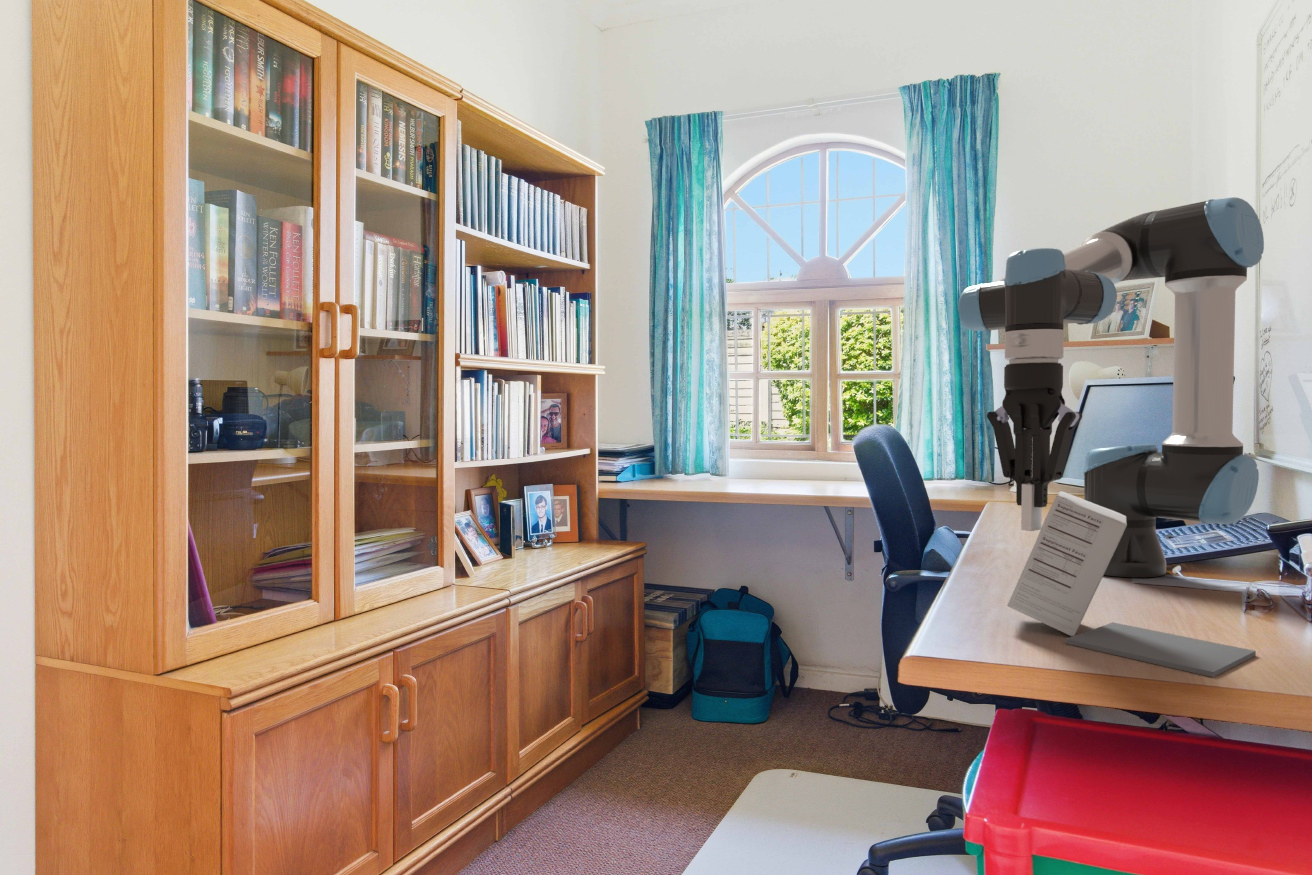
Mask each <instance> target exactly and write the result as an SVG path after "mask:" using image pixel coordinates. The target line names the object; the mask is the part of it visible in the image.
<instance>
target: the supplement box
mask: <svg viewBox="0 0 1312 875" xmlns="http://www.w3.org/2000/svg"><path fill="white" fill-rule="evenodd" d="M1049 508H1050V509H1049V510H1048V512H1047V515H1046V517H1045V519H1044V521H1043V522H1042V523H1043V524H1042V528H1041V530H1039V534H1038V536H1037V538H1036V540H1035V543H1034V545H1033V546H1032V548H1031V551H1030V553H1029V556H1028V558H1027V560H1026V561H1025V564H1024V566H1023V568H1022V570H1021V573H1020V574H1019V577H1018V579H1017V581H1016V583H1015V586H1014V587H1013V590H1012V593H1011V595H1010V597H1009V599H1008V602H1007V604H1006V606H1007V608H1010V609H1012V610H1014V611H1017V612H1019V613H1021V614H1023V615H1025V616H1027V617H1030V618H1031V619H1033V620H1036V621H1038V622H1041V623H1042V624H1044V625H1047V626H1049V627H1051V628H1053V629H1055V630H1057V631H1059V632H1062V633H1064V634H1066V635H1068V636H1069V637H1073V636H1076V635H1077V634H1076V633H1077V632H1078V629H1079V628H1080V626H1081V623H1082V621H1083V619H1084V617H1085V615H1086V612H1087V610H1088V609H1089V606H1090V604H1091V602H1092V600H1093V598H1094V596H1095V594H1096V592H1097V590H1098V588H1099V586H1100V583H1101V582H1102V579H1103V578H1104V576H1105V575H1104V573H1105V571H1106V569H1107V567H1108V565H1109V562H1110V560H1111V558H1112V556H1113V554H1114V552H1115V550H1116V548H1117V546H1118V543H1119V541H1120V539H1121V537H1122V535H1123V533H1124V530H1125V528H1126V526H1127V522H1126V516H1125V515H1122V514H1120V513H1118V512H1115V511H1113V510H1110V509H1107V508H1105V507H1102V506H1099V505H1097V504H1094V503H1092V502H1089V501H1086V500H1084V498H1081V497H1078V496H1076V495H1074V494H1070V493H1068V492H1065V491H1062V490H1060V491H1059V492H1058V494H1057V496H1055V498H1054V499H1053V502H1052V504H1051V506H1050V507H1049Z"/></svg>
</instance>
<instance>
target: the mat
mask: <svg viewBox="0 0 1312 875" xmlns="http://www.w3.org/2000/svg"><path fill="white" fill-rule="evenodd" d="M1065 644H1067V645H1070V646H1075V647H1079V648H1083V649H1088V650H1092V651H1097V652H1102V653H1105V654H1110V655H1115V656H1119V657H1122V658H1128V659H1132V660H1137V661H1140V662H1145V663H1148V664H1149V663H1150V664H1154V665H1158V666H1163V667H1165V668H1172V669H1176V670H1180V671H1185V672H1189V673H1193V674H1198V675H1201V676H1205V677H1210V678H1215V677H1217V676H1219V675H1221V674H1223V673H1225V672H1226V671H1228V670H1230V669H1232V668H1235V667H1237V666H1239V665H1240V664H1242V663H1244V662H1246V661H1248V660H1250V659H1252V658H1254V657H1256V650H1254V649H1248V648H1243V647H1237V646H1235V645H1234V646H1233V645H1228V644H1224V643H1219V642H1214V641H1208V640H1203V639H1198V638H1194V637H1193V638H1192V637H1188V636H1183V635H1178V634H1173V633H1167V632H1164V631H1163V632H1162V631H1158V630H1153V629H1148V628H1142V627H1138V626H1132V625H1127V624H1123V623H1117V622H1110V623H1107V624H1104V625H1102V626H1099V627H1095V628H1093V629H1090V630H1087V631H1084V632H1082V633H1079V634H1075V636H1073V637H1072V636H1069V637H1067V638H1065Z"/></svg>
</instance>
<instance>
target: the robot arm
mask: <svg viewBox="0 0 1312 875" xmlns="http://www.w3.org/2000/svg"><path fill="white" fill-rule="evenodd" d="M1264 240H1265V239H1264V232H1263V228H1262V224H1261V222H1260V219H1259V216H1258V214H1257V213H1256V211H1255V209H1254V208H1253V206H1252V205H1251V204H1250V203H1249V201H1246V200H1245V199H1244V198H1243V199H1242V198H1240V197H1224V198H1216V199H1208V200H1204V201H1200V202H1196V203H1190V204H1186V205H1179V206H1175V207H1171V208H1165V209H1160V210H1154V211H1148V212H1144V213H1141V214H1138V215H1136V216H1133V217H1130V218H1128V219H1125V220H1123V221H1120V222H1119V223H1116V224H1114V225H1111V226H1109V227H1107V228H1105V229H1103V230H1101V231H1098V232H1096V233H1094V234H1091V235H1089V236H1088V237H1087V238H1085V240H1084V241H1083V242H1082V244H1081V245H1079V246H1077V247H1075V248H1072V249H1070V250H1067V251H1066V252H1063V251H1062V250H1061V249H1058V248H1053V247H1052V248H1050V247H1047V248H1045V247H1044V248H1043V247H1041V248H1040V247H1039V248H1029V249H1024V250H1018V251H1015V252H1012V253H1011V254H1010V255H1008V257H1007V259H1006V262H1005V273H1004V274H1005V275H1004V277H1003V278H1001V279H999V280H995V281H992V282H988V283H987V282H986V283H984V282H981V283H979V284H975V285H971V286H970V285H969V286H968V287H966V288H965V289H964V290H963V291H962V292H961V294H960V296H959V299H958V304H957V307H958V308H957V311H958V315H959V319H960V322H961V324H962V325H963V326H964V327H965V328H966V329H968V330H970V331H973V332H981V331H983V332H984V331H985V332H990V331H997V330H998V331H999V330H1004V360H1006V361H1008V364H1007V363H1006V364H1005V366H1004V367H1003V368H1004V369H1003V372H1004V374H1003V375H1004V378H1003V379H1004V380H1003V388H1004V390H1005V394H1004V398H1003V400H1002V405H1001V406H1000V407H998V408H997V409H995V411H994V410H993V411H988V412H987V413H986V417H987V419H988V421H989V423H990V425H991V426H992V428H993V429H992V430H993V431H994V432H993V434H994V438H995V442H996V447H997V452H998V456H999V461H1000V466H1001V470H1002V471H1001V472H1002V475H1003V477H1005V478H1008V479H1011V480H1013V481H1014V482H1015V484H1016V492H1015V493H1016V494H1015V495H1016V497H1015V499H1016V501H1015V502H1016V505H1017V506H1021V512H1020V514H1021V521H1020V522H1021V523H1020V524H1021V526H1020V527H1021V528H1020V530H1021V531H1026V532H1027V531H1028V532H1034V531H1035V532H1036V531H1041V528H1042V526H1043V524H1042V523H1043V522H1042V520H1043V519H1042V517H1043V515H1042V512H1043V510H1042V508H1046V507H1047V505H1048V499H1049V498H1048V497H1049V496H1048V489H1049V488H1048V487H1049V484H1050V483H1051V482H1054V481H1059V480H1062V478H1063V474H1064V471H1065V467H1066V463H1067V459H1068V456H1069V452H1070V448H1071V444H1072V440H1073V436H1074V434H1075V433H1074V432H1075V429H1076V427H1077V426H1078V424H1079V423H1080V422H1081V420H1082V418H1083V414H1082V412H1081V411H1074V410H1072V409H1071V408H1070V407H1068V406H1067V405H1066V401H1065V399H1064V397H1063V394H1062V391H1063V388H1064V365H1062V363H1061V362H1059V360H1061V359H1063V358H1064V324H1065V325H1067V324H1076V325H1078V326H1079V325H1080V326H1081V325H1089V324H1097V323H1100V322H1102V321H1103V320H1105V319H1106V318H1108V317H1109V316H1110V314H1111V313H1112V312H1113V311H1114V309H1115V308H1116V303H1117V299H1118V298H1117V297H1118V293H1117V288H1116V284H1117V283H1120V282H1125V281H1135V280H1145V279H1146V280H1147V279H1156V278H1159V279H1160V278H1164V286H1165V287H1166V288H1167V289H1168V290H1170V291H1171V292H1172V293H1173V294H1174V330H1173V331H1174V332H1173V378H1172V379H1173V381H1172V382H1173V385H1172V432H1171V433H1170V435H1169V436H1168V437H1167V438H1166V439H1165V440H1163V441H1162V443H1161V451H1160V452H1159V448H1158V446H1157V445H1156V444H1155V443H1145V444H1133V445H1120V446H1119V445H1118V446H1109V447H1100V448H1093V449H1090V450H1089V451H1088V452H1087V453H1086V455H1085V461H1084V469H1083V471H1082V472H1083V477H1084V478H1083V483H1084V484H1083V489H1084V490H1083V499H1084V500H1086V501H1089V502H1092V503H1094V504H1097V505H1099V506H1102V507H1105V508H1107V509H1110V510H1113V511H1115V512H1118V513H1120V514H1122V515H1125V516H1126V522H1127V526H1126V528H1125V530H1124V533H1123V535H1122V537H1121V539H1120V541H1119V543H1118V546H1117V548H1116V550H1115V552H1114V554H1113V556H1112V558H1111V560H1110V562H1109V565H1108V567H1107V569H1106V571H1105V573H1104V575H1103V576H1110V577H1111V576H1112V577H1123V578H1155V577H1162V576H1164V575H1167V560H1166V557H1165V554H1164V550H1163V549H1162V545H1161V541H1160V539H1159V537H1158V534H1157V529H1156V527H1157V526H1156V523H1157V522H1156V521H1157V518H1160V519H1169V520H1179V521H1187V522H1188V521H1189V522H1196V523H1197V522H1199V523H1201V524H1204V525H1208V524H1221V525H1231V524H1234V523H1236V522H1239V521H1240V520H1241V519H1243V517H1245V515H1247V513H1249V510H1250V509H1251V507H1252V505H1253V503H1254V500H1255V498H1256V495H1257V492H1258V488H1259V487H1258V486H1259V480H1260V479H1259V478H1260V477H1259V475H1260V474H1259V469H1258V468H1257V467H1258V464H1257V462H1256V460H1255V459H1254V458H1253V457H1252V456H1249V455H1247V454H1244V443H1243V442H1242V441H1241V440H1240V439H1238V438H1237V437H1236V435H1234V433H1233V431H1234V430H1233V426H1234V425H1233V424H1234V422H1233V421H1234V420H1233V419H1234V383H1235V382H1234V381H1235V380H1234V376H1235V375H1234V374H1235V331H1236V330H1235V328H1236V327H1235V325H1236V323H1235V322H1236V291H1237V289H1238V288H1239V287H1241V285H1243V284H1244V283H1245V282H1246V281H1247V278H1248V268H1253V267H1254V266H1257V265H1258V264H1259V263H1260V262H1261V260H1262V258H1263V257H1262V255H1263V254H1264V250H1265V242H1264ZM1056 419H1057V421H1058V424H1057V426H1056V430H1055V433H1054V437H1053V440H1052V441H1053V442H1052V444H1051V436H1052V433H1053V423H1054V422H1055V421H1056ZM1009 420H1011V423H1013V426H1012V427H1013V433H1012V429H1011V426H1010V422H1009ZM1013 434H1014V438H1015V439H1014V438H1013ZM1014 441H1015V442H1014ZM1051 445H1052V446H1051Z"/></svg>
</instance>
